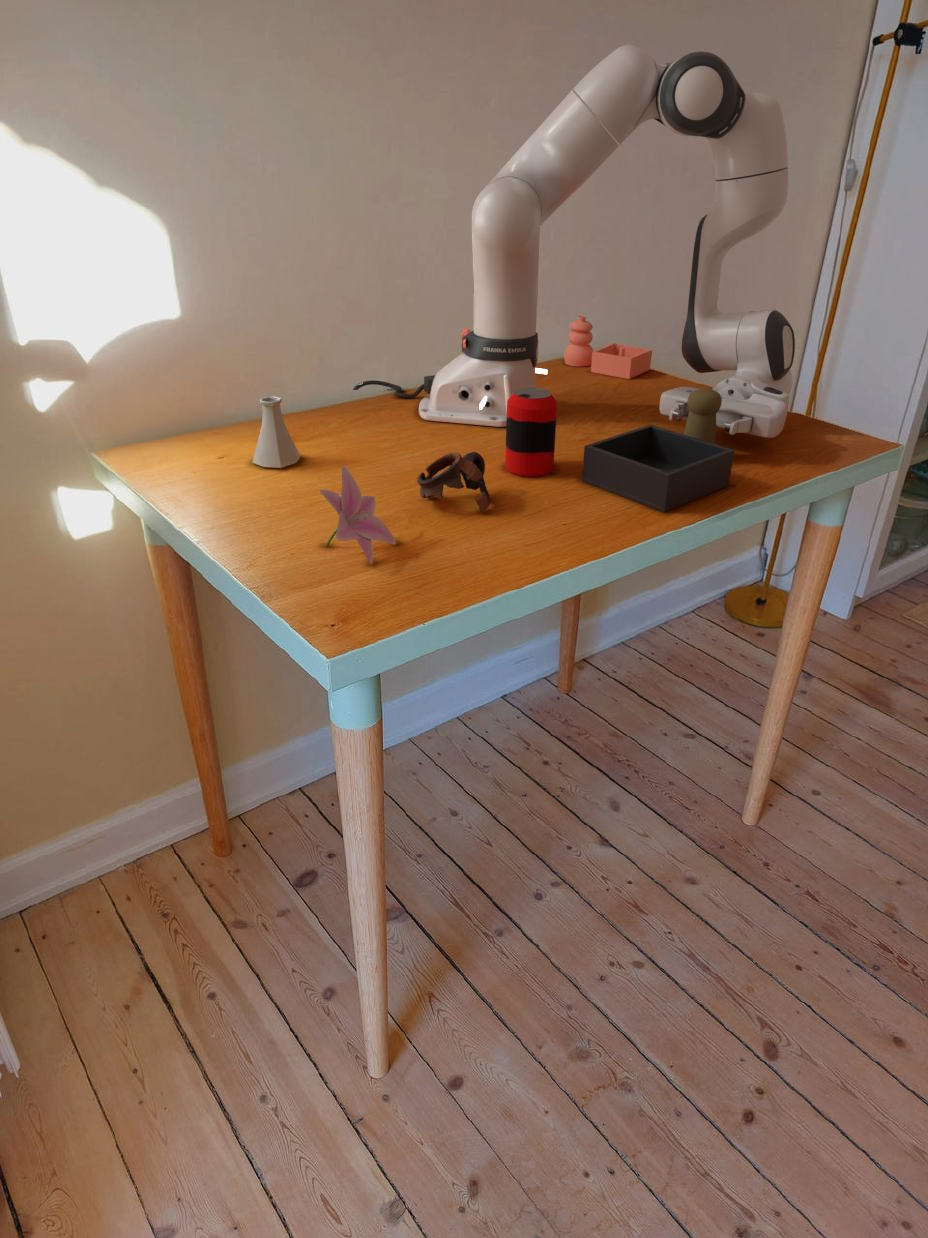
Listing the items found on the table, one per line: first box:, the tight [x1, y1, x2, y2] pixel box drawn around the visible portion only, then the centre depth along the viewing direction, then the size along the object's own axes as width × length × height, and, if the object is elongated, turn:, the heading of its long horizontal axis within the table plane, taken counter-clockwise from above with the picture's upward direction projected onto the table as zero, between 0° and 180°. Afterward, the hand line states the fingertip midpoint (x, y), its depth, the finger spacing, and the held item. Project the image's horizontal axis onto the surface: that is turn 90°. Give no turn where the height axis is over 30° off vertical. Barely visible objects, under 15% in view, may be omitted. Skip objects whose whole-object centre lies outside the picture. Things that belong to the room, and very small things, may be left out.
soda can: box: [504, 387, 558, 478], centre depth 138 cm, size 8×8×12 cm
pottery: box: [563, 315, 653, 380], centre depth 191 cm, size 18×10×10 cm, turn 53°
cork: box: [682, 388, 722, 445], centre depth 143 cm, size 6×6×11 cm
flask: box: [252, 395, 301, 469], centre depth 141 cm, size 7×7×10 cm
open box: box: [581, 424, 735, 513], centre depth 135 cm, size 16×16×6 cm
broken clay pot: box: [416, 451, 492, 514], centre depth 129 cm, size 12×10×8 cm
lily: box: [319, 464, 397, 565], centre depth 114 cm, size 12×12×10 cm
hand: (700, 422), depth 143 cm, fingers open, 8 cm apart
